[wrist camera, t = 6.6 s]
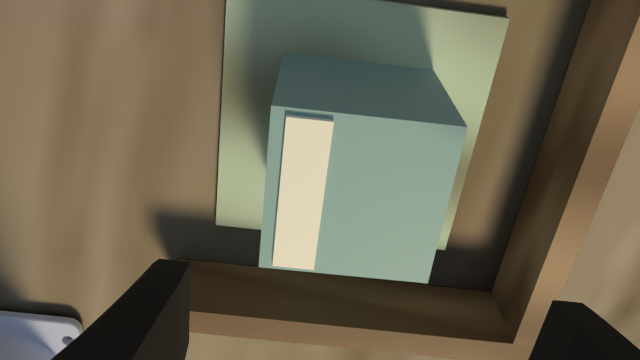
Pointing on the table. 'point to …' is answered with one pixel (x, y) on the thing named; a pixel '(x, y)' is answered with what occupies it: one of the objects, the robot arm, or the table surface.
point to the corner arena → (532, 220)
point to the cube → (358, 168)
